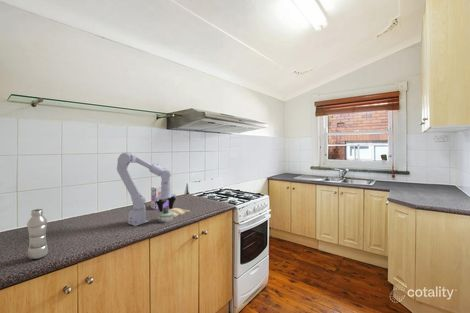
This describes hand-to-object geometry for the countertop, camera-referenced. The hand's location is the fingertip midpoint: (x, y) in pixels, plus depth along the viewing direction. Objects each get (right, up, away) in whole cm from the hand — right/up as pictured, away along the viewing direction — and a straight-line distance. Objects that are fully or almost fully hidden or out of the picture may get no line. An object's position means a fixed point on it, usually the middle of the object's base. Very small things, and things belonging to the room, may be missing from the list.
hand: (165, 210), depth 143 cm
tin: (0, -7, 0) cm, 7 cm away
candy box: (-13, -5, +31) cm, 34 cm away
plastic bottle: (-39, -8, -48) cm, 63 cm away
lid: (0, -3, 0) cm, 3 cm away
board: (+1, -6, +16) cm, 17 cm away
